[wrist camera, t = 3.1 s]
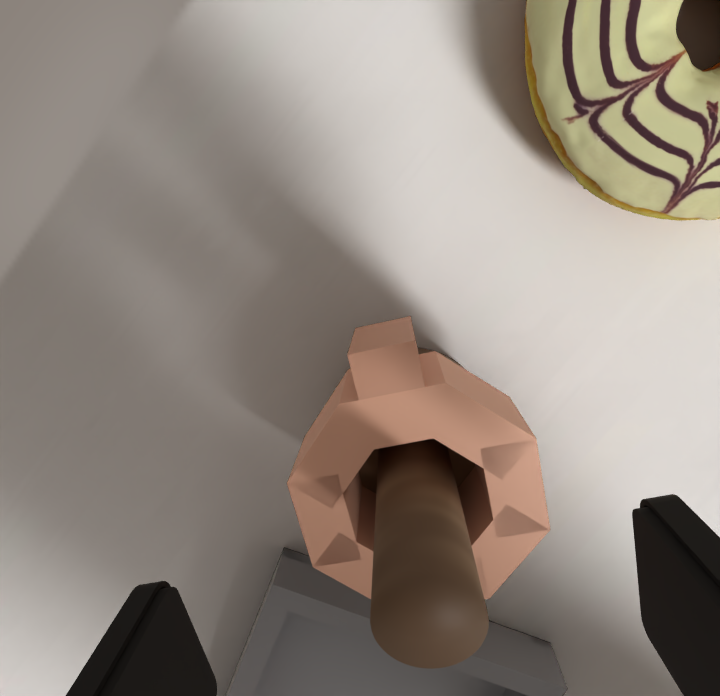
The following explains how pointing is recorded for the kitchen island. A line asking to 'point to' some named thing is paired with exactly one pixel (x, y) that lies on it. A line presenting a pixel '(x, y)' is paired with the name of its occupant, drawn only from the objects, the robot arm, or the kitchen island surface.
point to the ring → (411, 424)
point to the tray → (369, 649)
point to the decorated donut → (626, 104)
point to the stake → (423, 556)
